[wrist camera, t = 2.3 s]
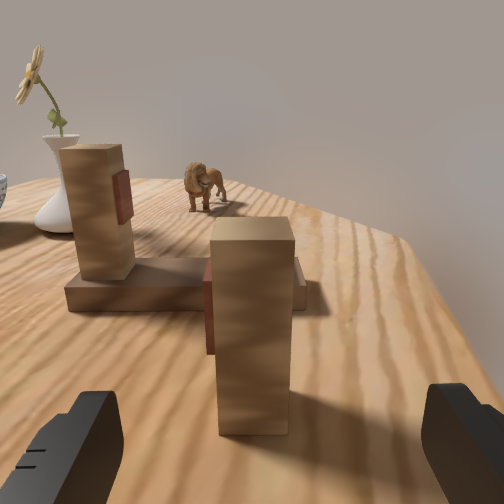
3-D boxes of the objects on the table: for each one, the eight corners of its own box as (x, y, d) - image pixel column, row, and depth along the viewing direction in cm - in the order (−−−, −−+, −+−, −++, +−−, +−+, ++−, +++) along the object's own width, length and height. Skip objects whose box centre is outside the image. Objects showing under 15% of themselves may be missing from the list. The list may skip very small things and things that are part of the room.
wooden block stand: (68, 311, 36) (37, 151, 31) (96, 279, 42) (74, 142, 37) (305, 309, 36) (313, 149, 31) (296, 278, 43) (302, 141, 37)
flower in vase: (48, 219, 65) (15, 52, 56) (119, 215, 67) (98, 54, 58) (20, 246, 53) (-28, 38, 44) (108, 240, 55) (79, 41, 46)
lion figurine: (210, 218, 65) (208, 164, 62) (180, 217, 66) (176, 163, 63) (229, 198, 79) (228, 153, 75) (204, 197, 79) (202, 152, 76)
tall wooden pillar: (210, 435, 22) (199, 240, 18) (215, 388, 26) (208, 217, 22) (287, 434, 22) (294, 239, 18) (282, 387, 26) (287, 216, 22)
